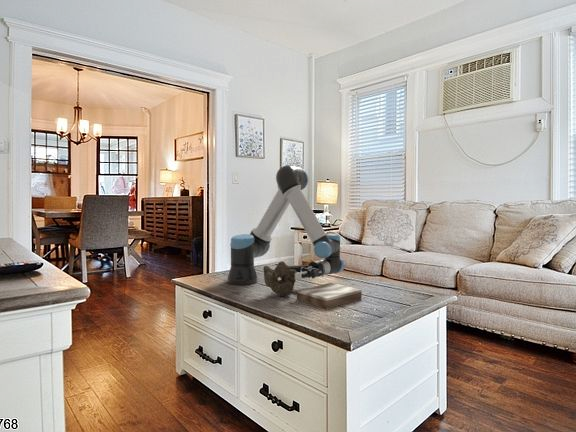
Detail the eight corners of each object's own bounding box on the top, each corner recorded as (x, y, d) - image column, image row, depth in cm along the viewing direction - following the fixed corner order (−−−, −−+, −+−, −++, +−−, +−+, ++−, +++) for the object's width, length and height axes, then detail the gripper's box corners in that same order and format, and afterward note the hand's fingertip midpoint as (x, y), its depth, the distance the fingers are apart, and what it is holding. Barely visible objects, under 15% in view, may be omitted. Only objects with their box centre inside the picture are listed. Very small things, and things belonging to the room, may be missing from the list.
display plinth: (296, 299, 151) (296, 289, 151) (331, 291, 165) (331, 282, 165) (326, 308, 139) (326, 298, 138) (361, 299, 152) (361, 289, 152)
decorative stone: (271, 300, 150) (271, 264, 149) (257, 294, 159) (257, 260, 158) (301, 294, 159) (302, 260, 159) (287, 289, 168) (287, 257, 168)
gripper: (338, 280, 164) (304, 287, 150) (300, 272, 183) (267, 278, 169) (338, 263, 164) (304, 269, 150) (300, 257, 183) (267, 261, 169)
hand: (284, 274), depth 160 cm, fingers open, 13 cm apart
